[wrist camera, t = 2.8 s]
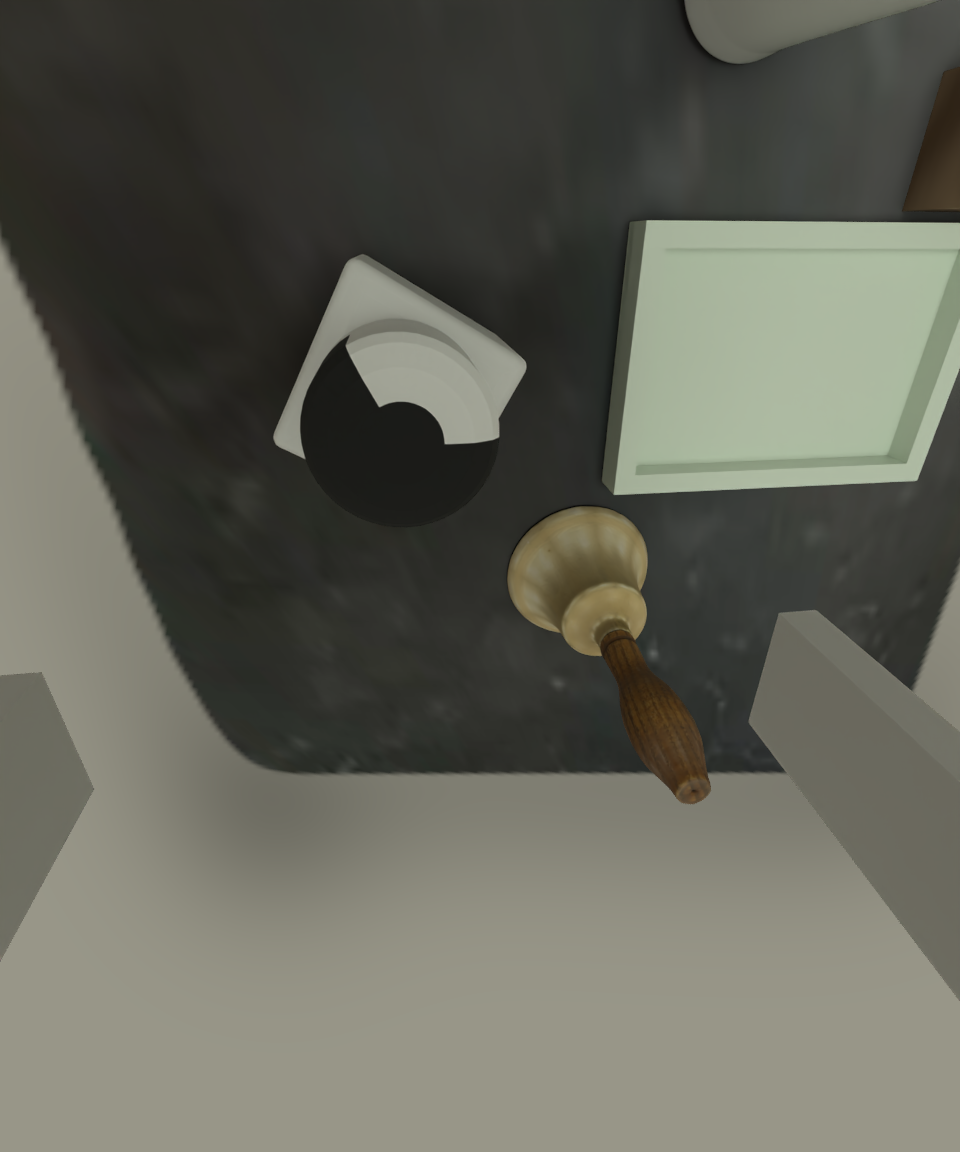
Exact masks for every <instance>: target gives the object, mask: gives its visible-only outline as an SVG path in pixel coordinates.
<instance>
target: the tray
mask: <svg viewBox="0 0 960 1152" xmlns="http://www.w3.org/2000/svg"><path fill="white" fill-rule="evenodd" d="M959 369H960V223H907V222H786V221H665V220H645V221H633V222H630V225H629V234H628V243H627V252H626V261H625V271H624V280H623V289H622V298H621V308H620V317H619V326H618V335H617V344H616V354H615V363H614V372H613V381H612V391H611V400H610V409H609V418H608V427H607V437H606V446H605V455H604V464H603V474H602V482H603V483H604V484H605V486H606V487H607V488H608V489H609V490H610V491H611V492H612V494H613V495H623V494H644V493H665V492H687V491H708V490H729V489H751V488H772V487H794V486H815V485H836V484H858V483H879V482H900V481H917V479H918V476H919V474H920V471H921V469H922V466H923V463H924V461H925V458H926V455H927V453H928V450H929V447H930V445H931V442H932V440H933V437H934V434H935V432H936V429H937V426H938V424H939V421H940V419H941V416H942V413H943V411H944V408H945V405H946V403H947V400H948V397H949V395H950V392H951V390H952V387H953V384H954V382H955V379H956V376H957V374H958V371H959Z"/></svg>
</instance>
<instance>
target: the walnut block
mask: <svg viewBox="0 0 960 1152" xmlns="http://www.w3.org/2000/svg"><path fill="white" fill-rule="evenodd" d="M902 211H927V212H960V67H958V68H955V69H951V70H948V71H945V72H944V73H943V76H942V80H941V83H940V86H939V90H938V93H937V96H936V100H935V103H934V106H933V110H932V113H931V116H930V120H929V123H928V126H927V130H926V133H925V136H924V140H923V143H922V146H921V150H920V153H919V156H918V160H917V163H916V166H915V170H914V173H913V176H912V180H911V183H910V186H909V190H908V193H907V196H906V200H905V203H904V206H903V210H902Z"/></svg>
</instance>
